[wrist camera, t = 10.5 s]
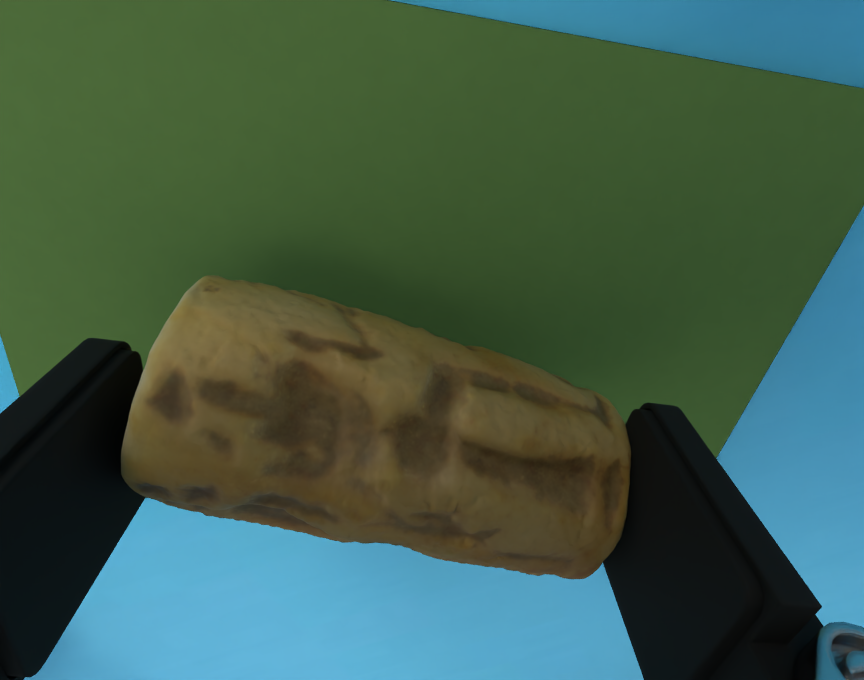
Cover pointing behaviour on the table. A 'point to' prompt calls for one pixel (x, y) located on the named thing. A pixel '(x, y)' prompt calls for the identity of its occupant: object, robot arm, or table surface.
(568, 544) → the carved stone cylinder
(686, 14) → the table surface
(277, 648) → the table surface
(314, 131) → the green mat
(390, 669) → the table surface
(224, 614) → the table surface
